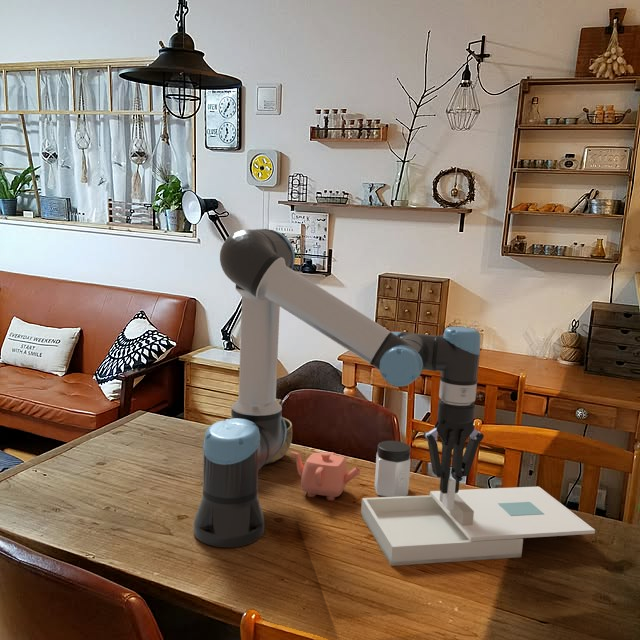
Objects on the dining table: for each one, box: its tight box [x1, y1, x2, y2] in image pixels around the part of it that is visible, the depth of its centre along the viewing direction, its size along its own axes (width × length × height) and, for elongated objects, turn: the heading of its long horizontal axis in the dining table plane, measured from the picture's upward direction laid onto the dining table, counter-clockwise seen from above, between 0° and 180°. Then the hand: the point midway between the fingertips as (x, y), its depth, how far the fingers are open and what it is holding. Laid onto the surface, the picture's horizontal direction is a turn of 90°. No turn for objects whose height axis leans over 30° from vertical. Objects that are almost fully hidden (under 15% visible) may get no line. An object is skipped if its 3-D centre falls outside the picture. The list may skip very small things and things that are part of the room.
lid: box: [429, 486, 596, 541], centre depth 142 cm, size 28×22×4 cm
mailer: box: [360, 494, 524, 567], centre depth 139 cm, size 28×22×4 cm
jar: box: [374, 440, 412, 497], centre depth 159 cm, size 9×8×12 cm
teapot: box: [289, 450, 361, 501], centre depth 157 cm, size 14×12×10 cm
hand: (447, 506), depth 139 cm, fingers closed
